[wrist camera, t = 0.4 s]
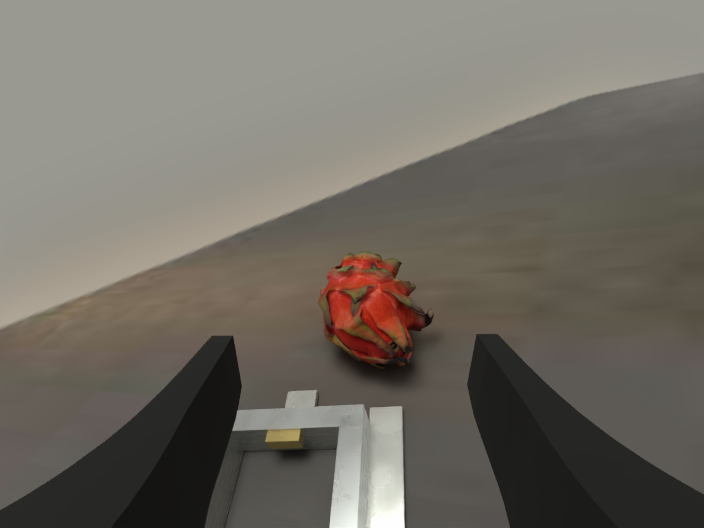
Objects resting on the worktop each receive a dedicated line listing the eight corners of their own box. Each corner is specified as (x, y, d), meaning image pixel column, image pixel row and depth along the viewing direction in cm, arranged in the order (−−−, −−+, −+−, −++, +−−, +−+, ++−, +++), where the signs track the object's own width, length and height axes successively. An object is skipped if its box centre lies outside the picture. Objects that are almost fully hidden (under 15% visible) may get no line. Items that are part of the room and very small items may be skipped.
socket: (408, 685, 22) (401, 675, 20) (121, 666, 24) (90, 656, 23) (402, 389, 34) (397, 366, 32) (213, 399, 37) (199, 379, 35)
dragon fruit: (361, 300, 45) (415, 400, 37) (285, 295, 40) (329, 409, 32) (401, 235, 41) (471, 333, 33) (322, 221, 36) (382, 331, 28)
